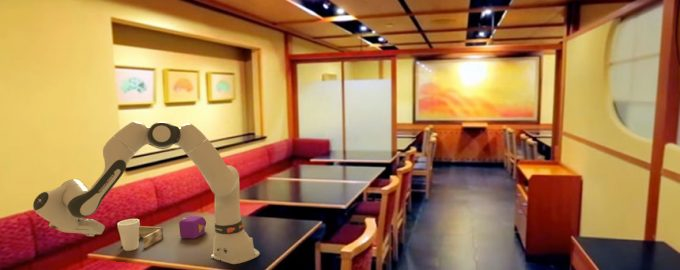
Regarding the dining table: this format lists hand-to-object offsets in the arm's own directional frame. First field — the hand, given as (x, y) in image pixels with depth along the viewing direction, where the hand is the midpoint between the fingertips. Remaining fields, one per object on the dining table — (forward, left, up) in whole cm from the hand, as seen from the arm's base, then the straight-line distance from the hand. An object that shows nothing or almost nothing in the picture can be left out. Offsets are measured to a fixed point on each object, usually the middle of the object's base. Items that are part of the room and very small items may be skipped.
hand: (92, 234), depth 178 cm
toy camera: (+3, -47, -15) cm, 49 cm away
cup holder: (+15, -25, -14) cm, 32 cm away
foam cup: (+11, -18, -15) cm, 26 cm away
